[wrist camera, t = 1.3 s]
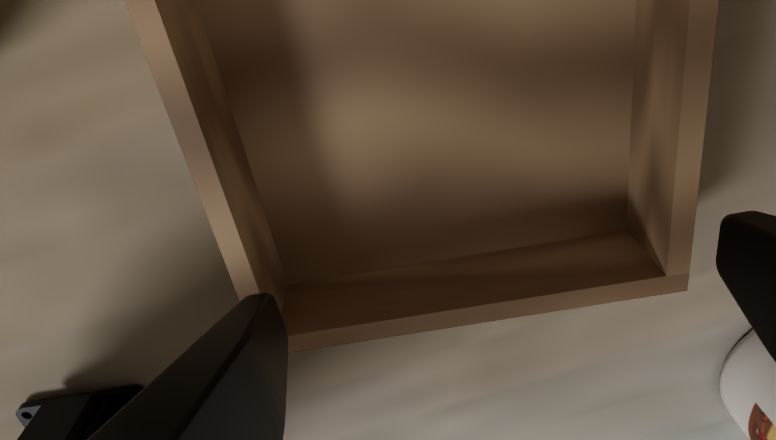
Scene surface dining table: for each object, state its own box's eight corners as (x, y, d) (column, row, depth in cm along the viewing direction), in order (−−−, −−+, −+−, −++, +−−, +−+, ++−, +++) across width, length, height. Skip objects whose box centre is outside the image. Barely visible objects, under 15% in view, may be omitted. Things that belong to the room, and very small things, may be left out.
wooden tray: (639, 235, 23) (687, 290, 19) (277, 294, 24) (261, 357, 20) (669, -328, 15) (764, -412, 11) (108, -203, 15) (30, -243, 12)
